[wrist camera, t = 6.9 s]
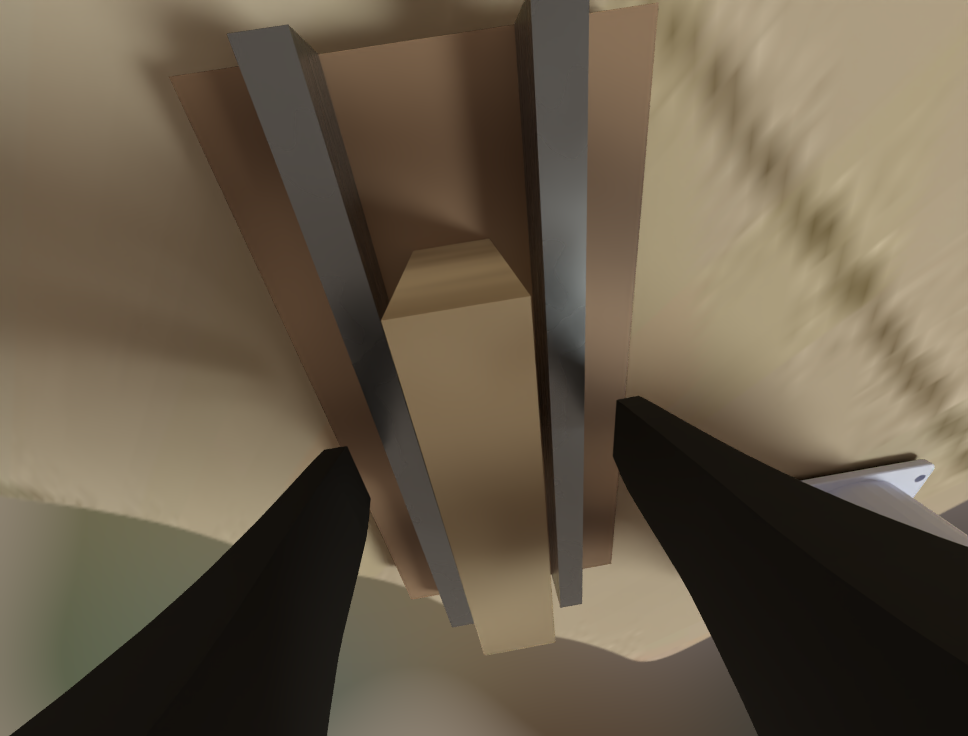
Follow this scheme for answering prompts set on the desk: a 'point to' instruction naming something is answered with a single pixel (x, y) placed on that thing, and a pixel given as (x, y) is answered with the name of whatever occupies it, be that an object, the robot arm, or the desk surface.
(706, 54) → the desk surface
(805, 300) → the desk surface
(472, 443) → the wooden block
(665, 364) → the desk surface
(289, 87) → the track board
